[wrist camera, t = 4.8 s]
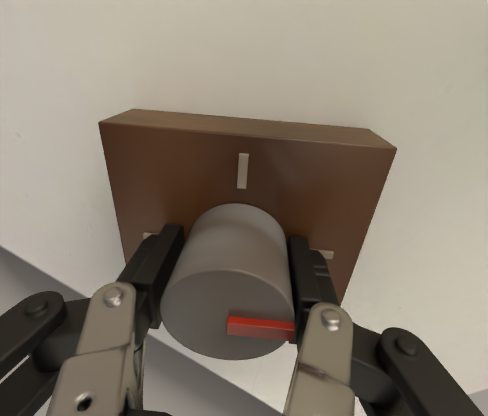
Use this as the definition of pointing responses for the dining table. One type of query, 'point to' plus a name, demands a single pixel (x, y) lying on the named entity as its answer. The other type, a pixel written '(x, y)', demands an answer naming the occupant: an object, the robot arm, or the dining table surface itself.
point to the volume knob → (231, 286)
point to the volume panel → (246, 177)
